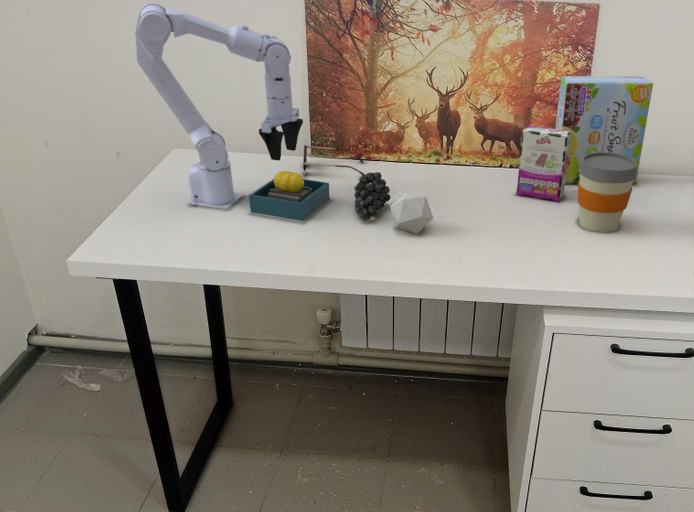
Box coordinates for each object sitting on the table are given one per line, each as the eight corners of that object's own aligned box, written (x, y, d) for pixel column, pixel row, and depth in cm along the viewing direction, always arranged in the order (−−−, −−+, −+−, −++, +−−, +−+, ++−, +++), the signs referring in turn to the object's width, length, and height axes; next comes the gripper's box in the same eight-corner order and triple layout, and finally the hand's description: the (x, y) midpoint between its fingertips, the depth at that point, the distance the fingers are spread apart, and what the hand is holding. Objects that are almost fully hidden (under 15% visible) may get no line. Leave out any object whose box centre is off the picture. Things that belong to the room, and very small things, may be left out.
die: (439, 231, 165) (430, 188, 166) (429, 226, 157) (419, 181, 157) (404, 241, 168) (395, 199, 168) (392, 237, 159) (382, 192, 159)
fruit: (370, 188, 160) (386, 164, 172) (336, 196, 163) (354, 171, 175) (382, 223, 164) (397, 197, 176) (349, 231, 167) (366, 204, 179)
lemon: (270, 193, 170) (267, 175, 167) (280, 183, 174) (277, 166, 170) (300, 198, 168) (298, 180, 165) (309, 188, 171) (307, 170, 168)
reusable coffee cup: (591, 209, 177) (601, 148, 168) (636, 225, 169) (649, 162, 161) (560, 223, 169) (569, 160, 161) (606, 240, 162) (618, 175, 153)
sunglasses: (304, 161, 200) (304, 143, 197) (362, 164, 202) (363, 146, 199) (303, 179, 188) (303, 160, 186) (365, 182, 191) (366, 163, 188)
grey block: (268, 207, 171) (267, 191, 169) (283, 197, 177) (281, 181, 174) (299, 213, 169) (298, 196, 167) (312, 202, 174) (311, 185, 172)
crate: (250, 214, 169) (248, 195, 167) (280, 192, 181) (279, 174, 178) (302, 223, 166) (301, 204, 163) (329, 200, 177) (329, 182, 174)
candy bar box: (563, 195, 184) (572, 130, 174) (559, 202, 180) (568, 136, 171) (520, 188, 187) (527, 124, 178) (515, 195, 183) (522, 129, 174)
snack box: (627, 173, 198) (646, 75, 184) (636, 185, 191) (656, 83, 176) (548, 172, 197) (560, 73, 183) (554, 184, 190) (567, 82, 176)
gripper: (279, 106, 159) (284, 166, 166) (309, 90, 170) (312, 147, 178) (250, 102, 161) (256, 162, 168) (282, 87, 172) (286, 144, 180)
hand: (283, 154), depth 173 cm, fingers open, 7 cm apart
